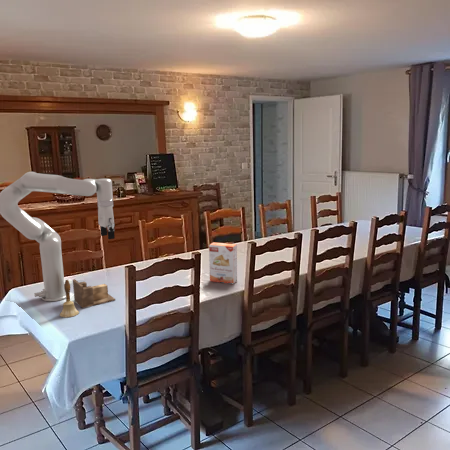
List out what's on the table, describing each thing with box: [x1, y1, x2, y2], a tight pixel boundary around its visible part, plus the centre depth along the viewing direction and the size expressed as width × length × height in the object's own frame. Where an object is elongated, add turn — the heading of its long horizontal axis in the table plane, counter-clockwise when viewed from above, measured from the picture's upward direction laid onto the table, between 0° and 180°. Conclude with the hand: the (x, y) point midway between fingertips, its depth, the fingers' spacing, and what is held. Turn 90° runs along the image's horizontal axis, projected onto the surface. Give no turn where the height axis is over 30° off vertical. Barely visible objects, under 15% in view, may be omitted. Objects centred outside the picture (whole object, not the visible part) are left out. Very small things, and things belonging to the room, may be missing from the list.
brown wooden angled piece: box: [72, 278, 116, 309], centre depth 219 cm, size 16×12×11 cm
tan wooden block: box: [91, 283, 109, 300], centre depth 220 cm, size 12×4×6 cm, turn 125°
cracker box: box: [208, 241, 238, 284], centre depth 244 cm, size 14×6×21 cm, turn 68°
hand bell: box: [59, 279, 80, 318], centre depth 203 cm, size 8×8×16 cm
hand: (107, 237), depth 229 cm, fingers open, 9 cm apart
